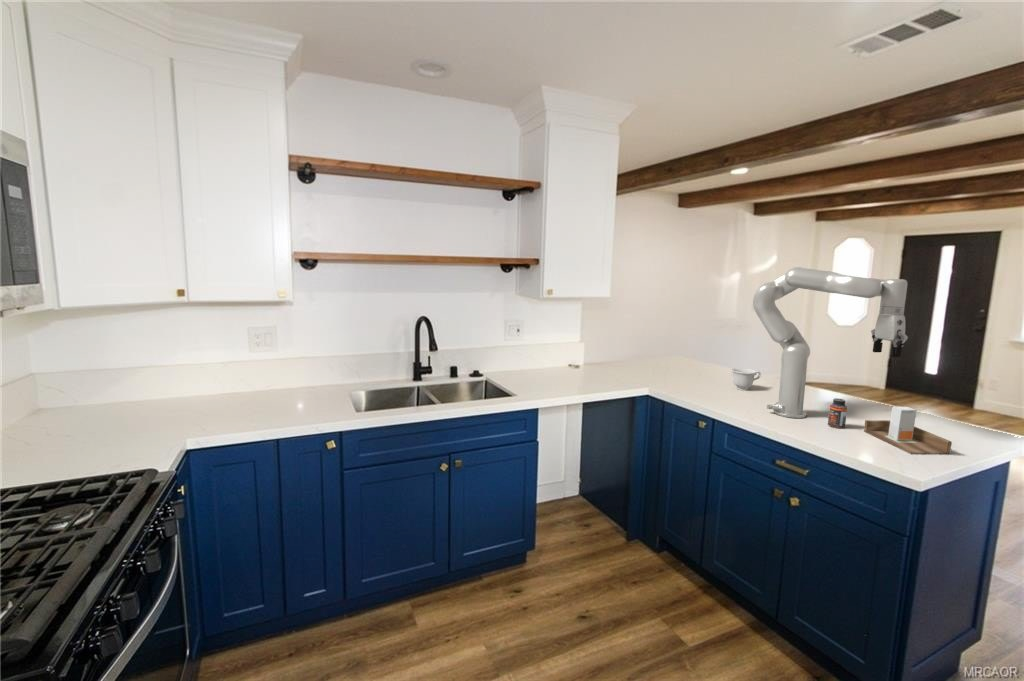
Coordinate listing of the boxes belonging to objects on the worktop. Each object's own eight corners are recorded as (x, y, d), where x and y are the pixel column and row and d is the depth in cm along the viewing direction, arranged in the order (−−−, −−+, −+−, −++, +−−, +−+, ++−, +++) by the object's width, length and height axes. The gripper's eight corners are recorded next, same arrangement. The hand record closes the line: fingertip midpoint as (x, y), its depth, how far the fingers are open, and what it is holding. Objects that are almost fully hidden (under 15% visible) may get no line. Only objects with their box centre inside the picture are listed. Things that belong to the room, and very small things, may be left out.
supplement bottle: (824, 425, 197) (826, 398, 196) (833, 423, 200) (836, 396, 198) (838, 429, 192) (842, 402, 190) (848, 427, 194) (851, 400, 193)
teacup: (765, 392, 249) (766, 373, 247) (736, 391, 249) (737, 373, 248) (753, 386, 261) (755, 368, 259) (726, 386, 261) (727, 368, 259)
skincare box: (897, 441, 178) (901, 409, 176) (887, 437, 182) (891, 406, 180) (912, 440, 178) (917, 409, 176) (903, 436, 182) (907, 406, 180)
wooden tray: (910, 454, 167) (912, 441, 166) (863, 431, 190) (865, 420, 189) (949, 454, 167) (951, 441, 166) (898, 431, 190) (899, 420, 189)
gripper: (919, 313, 178) (913, 358, 180) (884, 309, 195) (879, 350, 197) (899, 313, 178) (893, 358, 180) (865, 309, 195) (861, 350, 198)
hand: (886, 354), depth 189 cm, fingers open, 9 cm apart
